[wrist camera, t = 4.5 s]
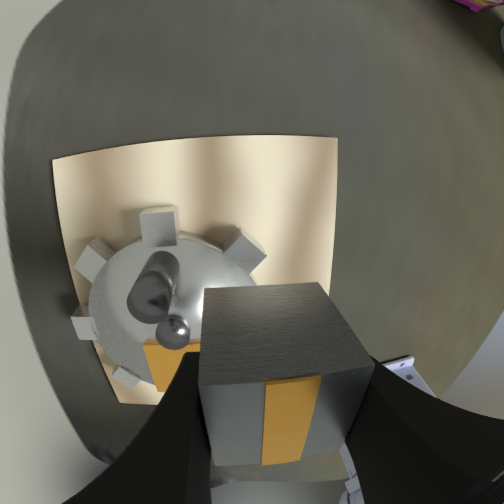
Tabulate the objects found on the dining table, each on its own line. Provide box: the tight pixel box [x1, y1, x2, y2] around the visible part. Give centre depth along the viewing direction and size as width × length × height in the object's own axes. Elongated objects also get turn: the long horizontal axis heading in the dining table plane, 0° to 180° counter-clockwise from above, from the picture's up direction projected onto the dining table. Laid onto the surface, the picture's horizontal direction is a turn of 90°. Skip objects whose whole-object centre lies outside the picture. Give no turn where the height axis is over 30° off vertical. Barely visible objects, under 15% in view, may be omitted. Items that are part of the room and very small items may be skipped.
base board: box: [52, 135, 337, 405], centre depth 18 cm, size 17×20×1 cm
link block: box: [198, 282, 375, 466], centre depth 8 cm, size 4×4×5 cm
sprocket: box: [71, 205, 267, 392], centre depth 15 cm, size 14×14×6 cm
